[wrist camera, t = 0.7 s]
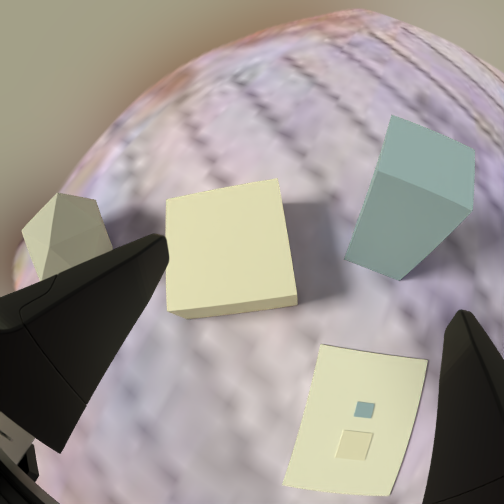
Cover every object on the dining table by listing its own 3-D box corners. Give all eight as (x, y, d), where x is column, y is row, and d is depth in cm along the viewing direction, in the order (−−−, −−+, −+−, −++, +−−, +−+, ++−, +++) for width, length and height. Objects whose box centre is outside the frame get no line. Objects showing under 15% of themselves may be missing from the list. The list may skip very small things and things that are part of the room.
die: (112, 202, 31) (32, 182, 24) (137, 214, 24) (29, 188, 18) (96, 273, 31) (17, 260, 25) (116, 304, 25) (13, 291, 19)
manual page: (388, 495, 17) (389, 496, 16) (282, 484, 19) (282, 485, 18) (426, 360, 20) (428, 360, 20) (320, 344, 22) (320, 344, 22)
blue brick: (399, 280, 23) (472, 210, 11) (344, 259, 24) (377, 170, 13) (410, 238, 24) (474, 149, 12) (358, 218, 25) (391, 114, 14)
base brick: (297, 305, 23) (297, 294, 20) (186, 319, 24) (167, 311, 21) (281, 203, 27) (277, 178, 23) (182, 220, 28) (166, 199, 24)
